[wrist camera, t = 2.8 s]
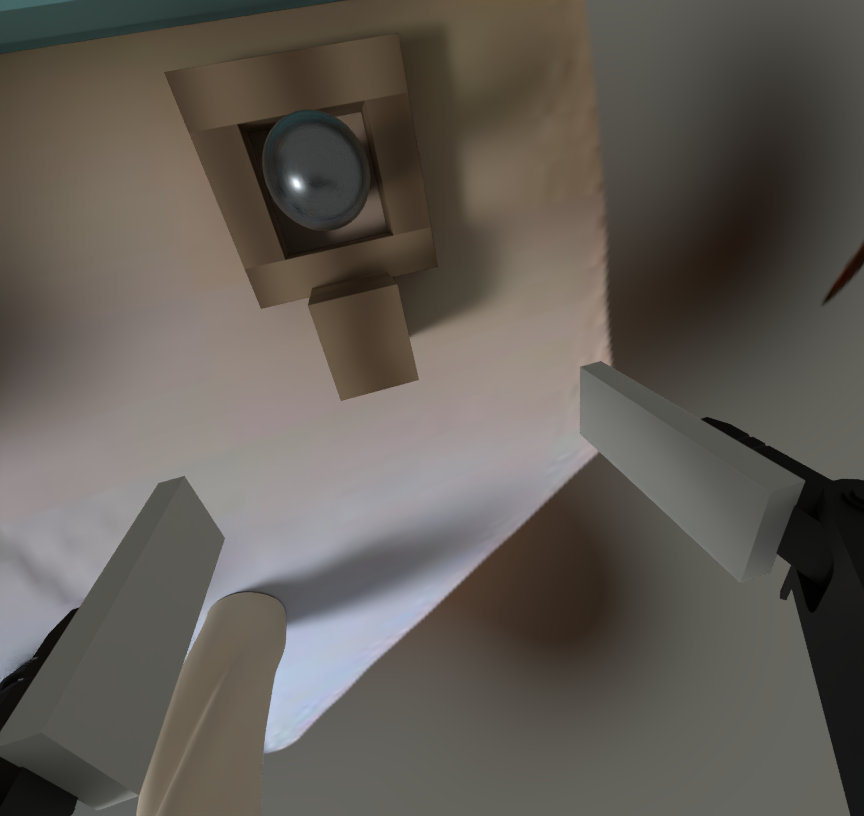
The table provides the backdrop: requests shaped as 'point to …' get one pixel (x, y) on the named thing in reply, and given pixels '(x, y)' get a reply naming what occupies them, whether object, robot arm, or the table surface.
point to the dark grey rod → (316, 170)
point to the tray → (115, 17)
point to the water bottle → (219, 715)
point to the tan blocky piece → (255, 217)
